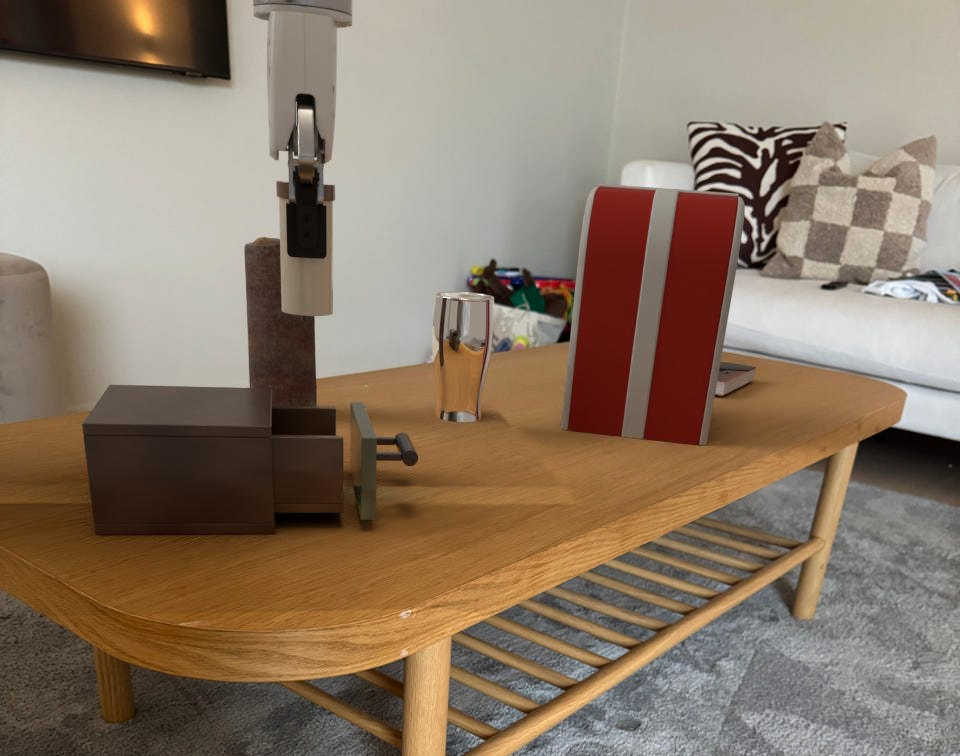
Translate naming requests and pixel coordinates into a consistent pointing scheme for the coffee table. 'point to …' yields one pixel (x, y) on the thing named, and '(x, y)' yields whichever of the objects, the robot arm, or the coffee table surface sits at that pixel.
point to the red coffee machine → (651, 311)
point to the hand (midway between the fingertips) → (306, 252)
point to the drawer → (327, 459)
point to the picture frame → (733, 377)
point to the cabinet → (181, 460)
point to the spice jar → (306, 265)
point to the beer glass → (461, 353)
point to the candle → (277, 332)
